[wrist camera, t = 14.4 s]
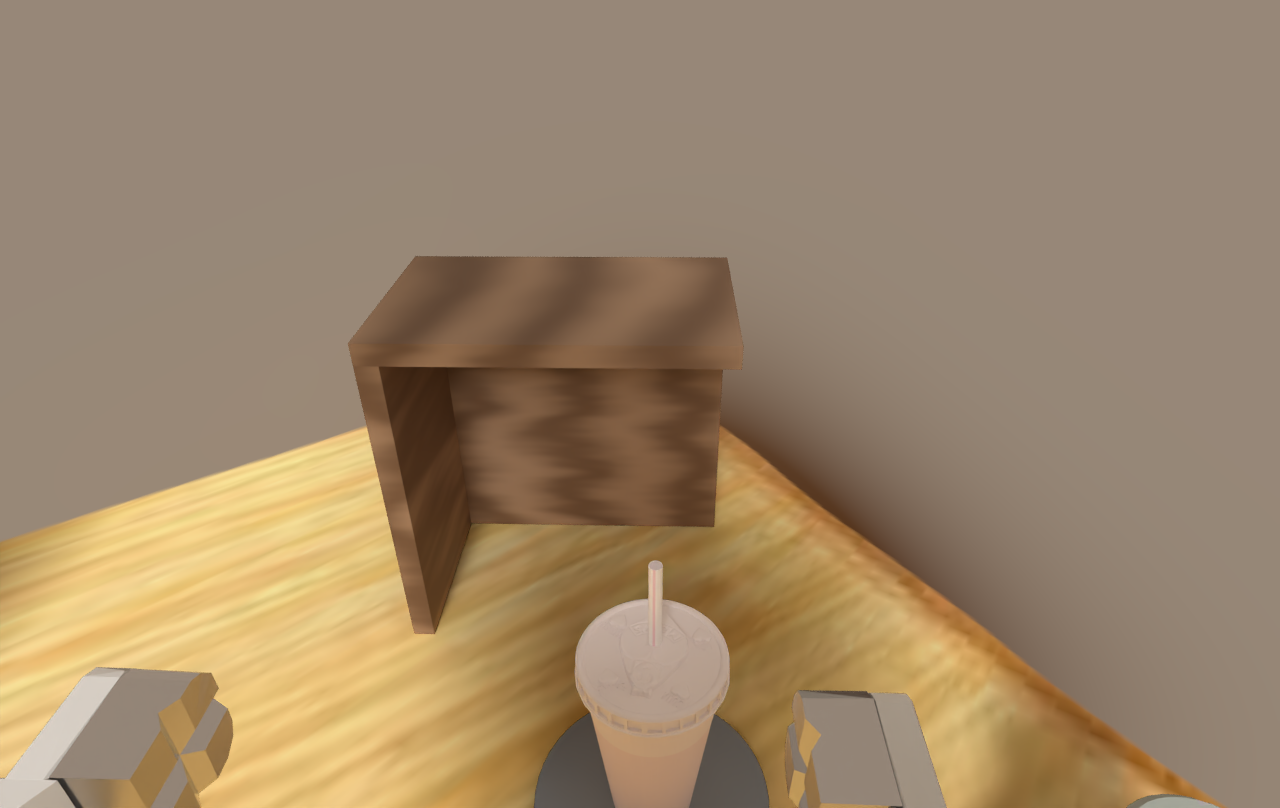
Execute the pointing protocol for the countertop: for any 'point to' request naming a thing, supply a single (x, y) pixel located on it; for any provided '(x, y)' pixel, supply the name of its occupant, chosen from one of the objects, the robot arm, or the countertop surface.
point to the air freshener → (1169, 802)
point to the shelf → (542, 399)
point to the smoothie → (652, 694)
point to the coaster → (580, 791)
